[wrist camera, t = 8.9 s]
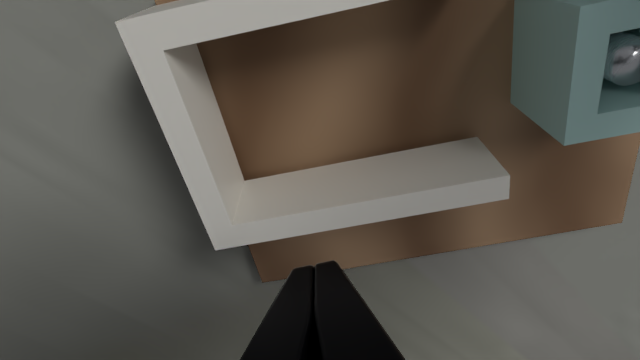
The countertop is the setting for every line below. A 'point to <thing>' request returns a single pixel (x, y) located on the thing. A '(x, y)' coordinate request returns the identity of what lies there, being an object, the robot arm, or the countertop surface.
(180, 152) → the white bent bar
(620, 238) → the countertop surface
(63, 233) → the countertop surface
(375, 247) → the board
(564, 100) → the teal hollow cube
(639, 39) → the pin
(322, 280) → the robot arm
